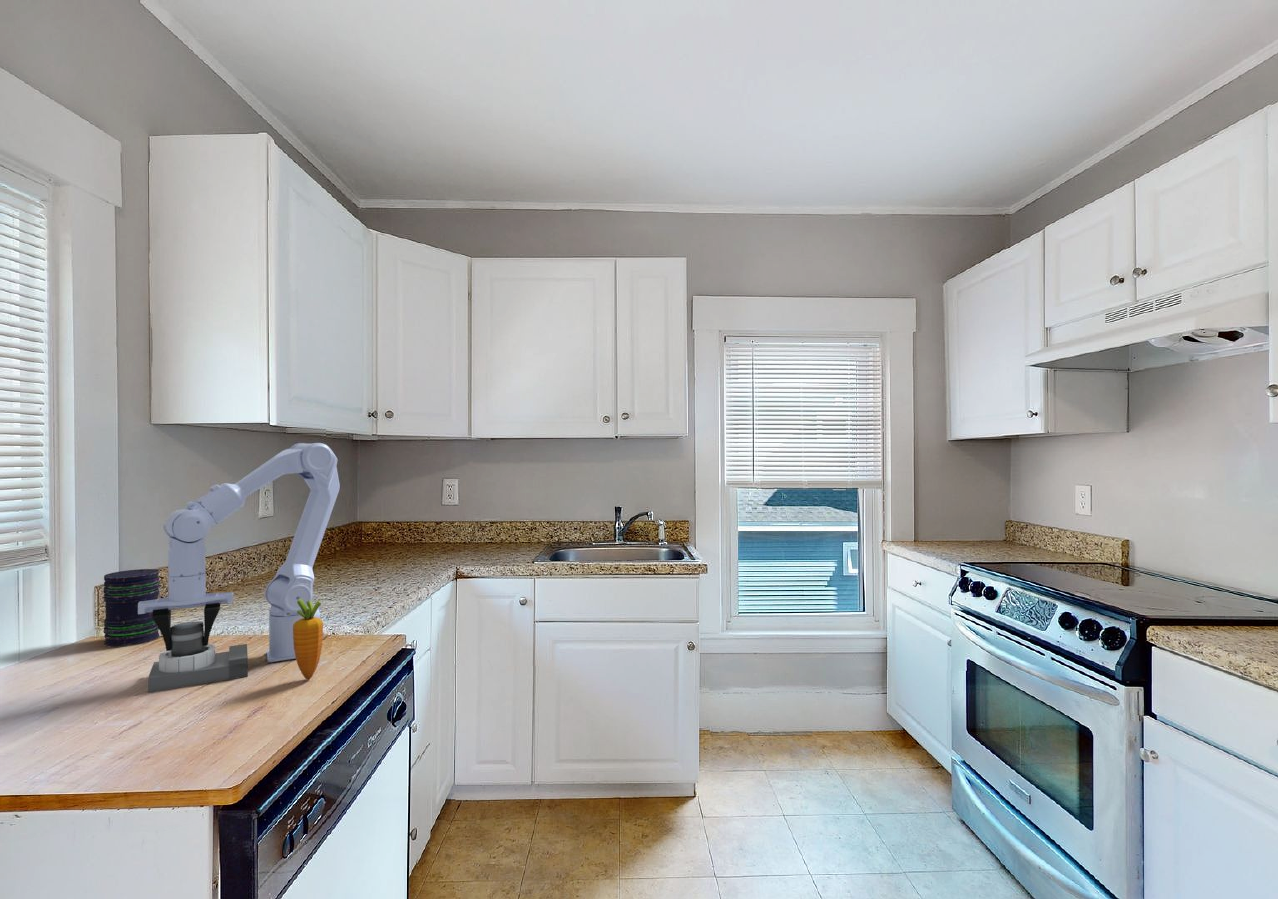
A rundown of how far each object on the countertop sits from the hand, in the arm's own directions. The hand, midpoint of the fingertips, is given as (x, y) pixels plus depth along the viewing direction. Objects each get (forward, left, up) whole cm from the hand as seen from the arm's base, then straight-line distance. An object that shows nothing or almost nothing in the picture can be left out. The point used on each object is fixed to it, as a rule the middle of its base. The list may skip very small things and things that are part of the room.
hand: (187, 646), depth 121 cm
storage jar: (+12, -35, -6) cm, 37 cm away
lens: (0, 0, -2) cm, 2 cm away
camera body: (-2, 0, -6) cm, 6 cm away
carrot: (-19, +13, -6) cm, 24 cm away
